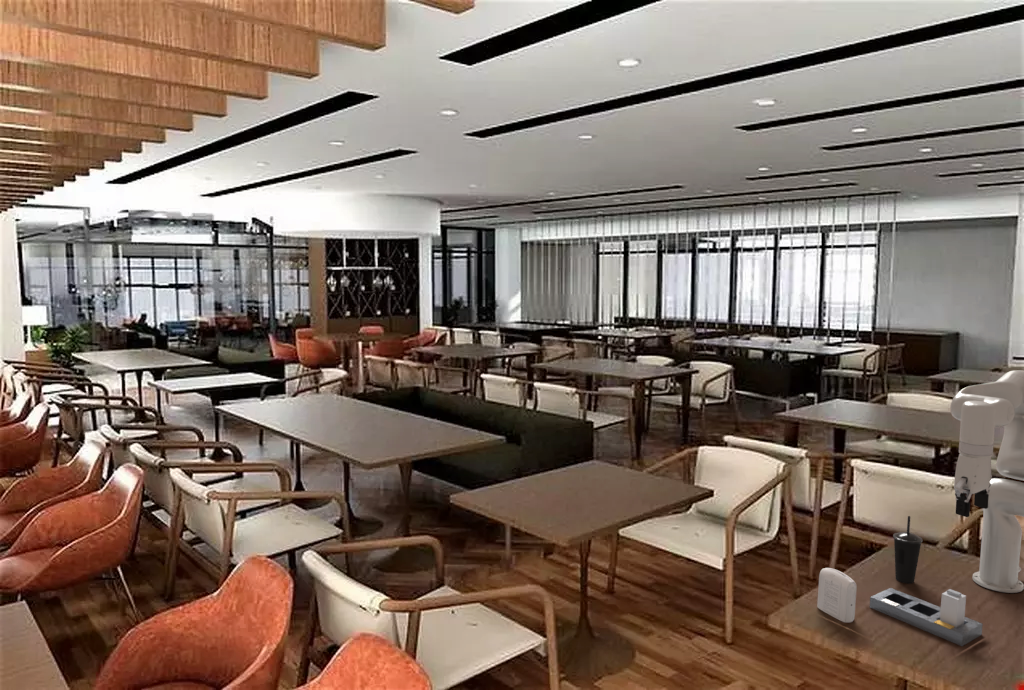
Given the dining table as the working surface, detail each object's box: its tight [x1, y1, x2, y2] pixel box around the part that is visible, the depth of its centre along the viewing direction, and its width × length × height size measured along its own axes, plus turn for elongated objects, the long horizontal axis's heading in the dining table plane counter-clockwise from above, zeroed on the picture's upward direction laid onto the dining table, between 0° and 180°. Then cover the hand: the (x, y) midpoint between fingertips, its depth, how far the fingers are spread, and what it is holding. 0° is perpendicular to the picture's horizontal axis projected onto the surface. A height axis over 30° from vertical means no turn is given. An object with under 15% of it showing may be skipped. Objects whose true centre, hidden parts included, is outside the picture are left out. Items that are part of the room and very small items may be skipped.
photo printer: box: [816, 567, 858, 623], centre depth 196 cm, size 10×4×12 cm, turn 25°
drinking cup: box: [892, 515, 923, 585], centre depth 216 cm, size 8×8×20 cm
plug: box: [940, 588, 967, 628], centre depth 187 cm, size 4×4×11 cm
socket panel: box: [869, 587, 983, 647], centre depth 193 cm, size 10×24×4 cm, turn 33°
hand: (971, 511), depth 193 cm, fingers open, 9 cm apart
